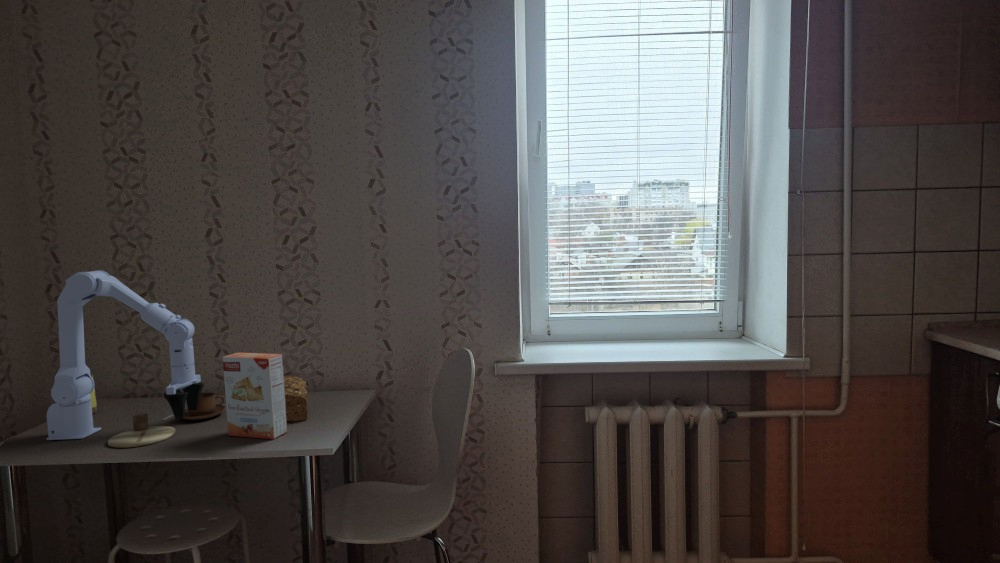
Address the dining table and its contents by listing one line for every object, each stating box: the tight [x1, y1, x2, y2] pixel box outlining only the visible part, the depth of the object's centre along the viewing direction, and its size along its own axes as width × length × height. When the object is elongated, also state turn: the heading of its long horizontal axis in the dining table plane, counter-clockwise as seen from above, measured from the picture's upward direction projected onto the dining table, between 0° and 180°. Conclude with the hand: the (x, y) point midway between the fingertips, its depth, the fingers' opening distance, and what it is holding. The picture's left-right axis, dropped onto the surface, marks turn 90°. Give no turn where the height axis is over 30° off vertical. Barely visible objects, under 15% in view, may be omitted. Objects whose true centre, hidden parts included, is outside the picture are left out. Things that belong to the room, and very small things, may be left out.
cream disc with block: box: [107, 412, 176, 449], centre depth 156 cm, size 15×15×5 cm
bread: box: [284, 374, 309, 423], centre depth 173 cm, size 19×11×10 cm, turn 19°
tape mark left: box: [161, 414, 175, 421], centre depth 174 cm, size 1×5×1 cm, turn 1°
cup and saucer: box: [182, 391, 226, 421], centre depth 173 cm, size 12×12×6 cm
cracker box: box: [222, 352, 288, 440], centre depth 154 cm, size 14×6×21 cm, turn 73°
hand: (186, 413), depth 165 cm, fingers open, 7 cm apart
